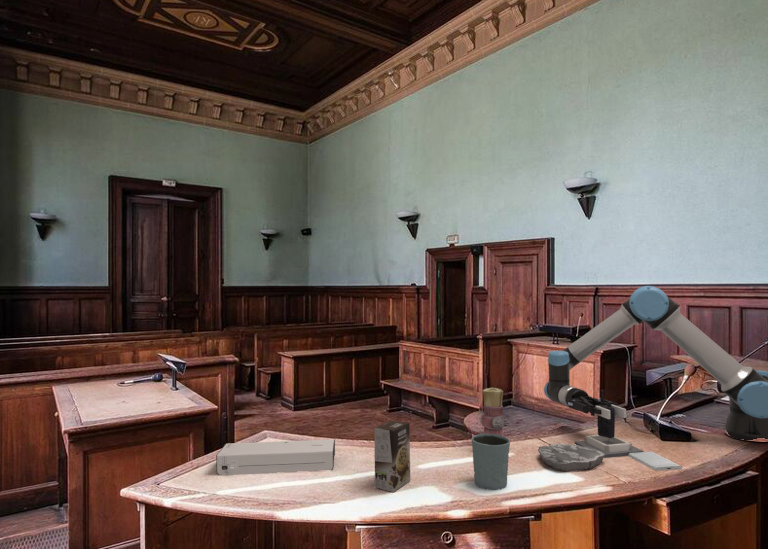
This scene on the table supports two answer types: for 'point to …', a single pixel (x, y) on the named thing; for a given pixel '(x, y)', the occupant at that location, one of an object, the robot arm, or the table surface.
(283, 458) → the laminator
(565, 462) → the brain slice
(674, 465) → the hard drive
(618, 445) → the charging cradle
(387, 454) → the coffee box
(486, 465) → the grey cup
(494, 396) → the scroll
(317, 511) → the table surface
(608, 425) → the two-way radio
